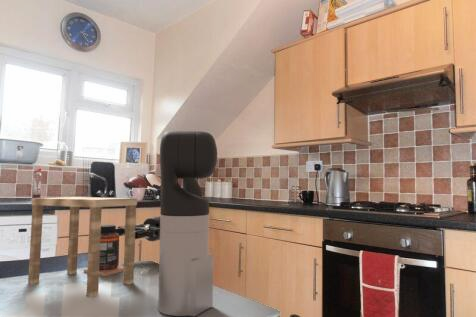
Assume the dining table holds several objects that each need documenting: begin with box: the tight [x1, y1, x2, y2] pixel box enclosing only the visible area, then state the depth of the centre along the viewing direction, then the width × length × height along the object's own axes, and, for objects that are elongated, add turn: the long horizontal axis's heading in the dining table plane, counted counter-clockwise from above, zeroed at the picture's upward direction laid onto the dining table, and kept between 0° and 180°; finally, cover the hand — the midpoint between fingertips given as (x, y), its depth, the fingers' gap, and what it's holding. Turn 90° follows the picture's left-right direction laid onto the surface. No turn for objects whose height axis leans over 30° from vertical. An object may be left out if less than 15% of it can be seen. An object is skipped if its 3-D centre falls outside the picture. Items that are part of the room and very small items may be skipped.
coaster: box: [83, 264, 124, 277], centre depth 90 cm, size 8×8×1 cm
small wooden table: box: [27, 196, 138, 298], centre depth 79 cm, size 22×12×20 cm, turn 63°
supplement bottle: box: [99, 224, 120, 270], centre depth 90 cm, size 6×6×11 cm
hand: (122, 234), depth 95 cm, fingers open, 8 cm apart
